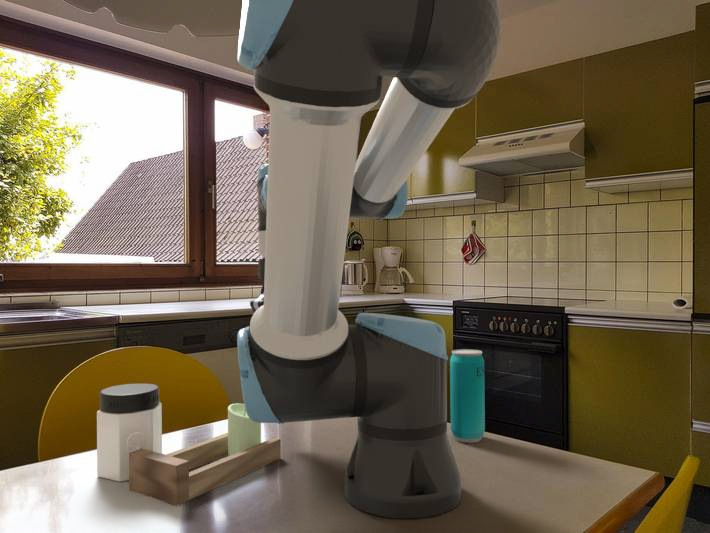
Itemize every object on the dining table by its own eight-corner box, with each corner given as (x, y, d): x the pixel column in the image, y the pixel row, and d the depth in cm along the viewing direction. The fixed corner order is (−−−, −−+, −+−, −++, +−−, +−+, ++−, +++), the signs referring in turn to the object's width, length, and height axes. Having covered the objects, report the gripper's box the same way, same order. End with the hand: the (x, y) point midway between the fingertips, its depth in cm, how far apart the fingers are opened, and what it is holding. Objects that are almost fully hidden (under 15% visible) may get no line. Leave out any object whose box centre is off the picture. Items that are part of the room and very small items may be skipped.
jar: (102, 486, 75) (101, 398, 75) (92, 468, 82) (92, 387, 82) (169, 472, 80) (168, 390, 80) (155, 456, 87) (154, 380, 87)
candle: (267, 455, 87) (266, 403, 87) (249, 466, 82) (249, 411, 82) (240, 451, 89) (239, 400, 89) (221, 461, 84) (221, 408, 84)
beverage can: (489, 437, 95) (488, 350, 95) (478, 446, 91) (477, 355, 91) (458, 432, 99) (457, 347, 99) (445, 440, 94) (444, 352, 94)
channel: (280, 458, 86) (280, 426, 86) (176, 505, 69) (176, 465, 69) (236, 447, 91) (236, 417, 91) (129, 490, 74) (129, 452, 74)
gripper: (288, 256, 101) (288, 385, 101) (236, 257, 90) (238, 401, 90) (321, 256, 97) (322, 390, 97) (272, 256, 86) (273, 407, 86)
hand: (281, 395), depth 94 cm, fingers closed
